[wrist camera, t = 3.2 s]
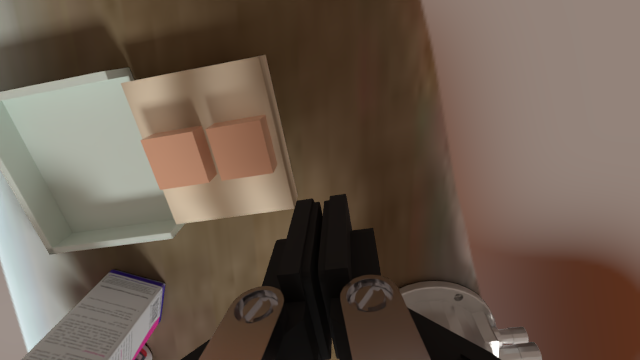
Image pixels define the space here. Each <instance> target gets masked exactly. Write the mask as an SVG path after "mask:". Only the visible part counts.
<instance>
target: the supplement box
mask: <svg viewBox="0 0 640 360" xmlns="http://www.w3.org/2000/svg"><path fill="white" fill-rule="evenodd" d="M164 290H165V283H162V282H159V281H155V280H151V279H147V278H143V277H140V276H136V275H132V274H129V273H125V272H122V271H118V270H111V271H110V272H109V273H108V274H107V275H106V276H105V277H104V278H103V279H102V280H101V281H100V282H99V283H98V284H97V285H96V286H95V287H94V288H93V289H92V290H91V291H90V292H89V293H88V294H87V295H86V296H85V297H84V298H83V299H82V300H81V301H80V302H79V303H78V304H77V305H76V306H75V307H74V308H73V309H72V310H71V311H70V312H69V313H68V314H67V315H66V316H65V317H64V318H63V319H62V320H61V321H60V322H59V323H58V324H57V325H56V326H55V327H54V328H53V329H52V330H51V331H50V332H49V333H48V334H47V335H46V336H45V337H44V338H43V339H42V340H41V341H40V342H39V343H38V344H37V345H36V346H35V347H34V348H33V349H32V350H31V351H30V352H29V353H28V354H27V355H26V356H25V357H24V358H23V359H22V360H135V358H136V357H137V355H138V354H139V352H140V351H141V349H142V348H143V346H144V345H145V343H146V342H147V340H148V339H149V337H150V335H151V334H152V332H153V331H154V329H155V328H156V326H157V325H158V324H159V322H160V320H161V314H162V306H163V299H164Z"/></svg>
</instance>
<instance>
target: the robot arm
mask: <svg viewBox="0 0 640 360" xmlns="http://www.w3.org/2000/svg"><path fill="white" fill-rule="evenodd" d="M332 340H333V344H334V349H335V353H336V357H337V359H340V360H542V356H541V353H540V350H539V348H538V346H537V345H536V344H535V343H534V342H528V335H527V332H526V330H525V329H524V327H515V328H508V329H499V330H498V329H497V328H496V324H495V319H494V317H493V315H492V313H491V311H490V309H489V308H488V306H487V304H486V303H485V301H484V300H483V299H482V298H481V297H480V296H479V295H478V294H476V293H475V292H473V291H471V290H470V289H468V288H466V287H463V286H461V285H458V284H454V283H450V282H444V281H426V282H418V283H414V284H411V285H407V286H405V287H402V288H400V289H399V288H398V287H397V285H396V284H395V283H394V282H393V281H391V280H390V279H389V278H386V277H383V276H381V273H380V267H379V261H378V255H377V249H376V243H375V237H374V231H373V228H369V229H361V230H353V231H352V227H351V221H350V215H349V209H348V203H347V197H346V194H342V195H335V196H330V200H329V201H324V209H323V215H322V210H321V206H320V202H314V200H313V199H306V200H298V201H297V202H296V205H295V209H294V213H293V217H292V220H291V224H290V228H289V232H288V235H287V239H280V240H277V241H276V243H275V246H274V249H273V252H272V256H271V259H270V262H269V265H268V268H267V272H266V275H265V278H264V281H263V284H262V286H261V287H256V288H253V289H250V290H248V291H246V292H244V293H242V294H241V295H240V296H238V297H237V298H236V299H235V300H234V301H233V303H232V304H231V305H230V307H229V309H228V310H227V312H226V314H225V316H224V317H223V319H222V321H221V322H220V324H219V326H218V327H217V329H216V331H215V333H214V334H213V336H212V338H211V339H210V340H208V341H207V342H205V343H204V344H202V345H201V346H200V347H198V348H197V349H195V350H194V351H193V352H191V353H190V354H188V355H187V356H185V357H184V358H183V359H181V360H328V359H331V345H332ZM507 343H512V344H513V345H503V346H502V344H507Z"/></svg>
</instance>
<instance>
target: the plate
mask: <svg viewBox="0 0 640 360" xmlns="http://www.w3.org/2000/svg"><path fill="white" fill-rule="evenodd" d="M121 86H122V88H123V91H124V93H125V96H126V98H127V101H128V103H129V106H130V108H131V111H132V114H133V116H134V119H135V121H136V124H137V126H138V129H139V131H140V134H141V136H142V139H144V138H146V137H148V136H150V135H152V134H154V133H160V132H166V131H172V130H178V129H183V128H189V127H195V126H201V125H202V128H203V131H204V134H205V137H206V140H207V143H208V146H209V150H210V153H211V156H212V159H213V162H214V165H215V168H216V171H217V175H216V176H215V177H214V178H213V179H212V180H211V181H210V182H209V183H204V184H197V185H190V186H184V187H177V188H170V189H163V192H164V195H165V197H166V200H167V202H168V205H169V207H170V210H171V213H172V215H173V218H174V220H175V223H176V224H183V223H190V222H198V221H205V220H213V219H220V218H227V217H235V216H242V215H250V214H257V213H265V212H272V211H280V210H287V209H294V208H295V204H296V200H297V197H298V195H297V191H296V186H295V182H294V177H293V173H292V169H291V164H290V160H289V155H288V151H287V147H286V142H285V138H284V133H283V129H282V125H281V120H280V116H279V111H278V107H277V103H276V98H275V94H274V89H273V85H272V81H271V76H270V72H269V67H268V63H267V59H266V55H262V56H257V57H252V58H246V59H241V60H236V61H231V62H226V63H221V64H216V65H210V66H205V67H200V68H195V69H190V70H185V71H180V72H174V73H169V74H164V75H159V76H154V77H149V78H144V79H138V80H134V81H129V82H124V83H121ZM259 115H266V119H267V124H268V128H269V132H270V136H271V140H272V144H273V148H274V152H275V156H276V161H277V167H276V169H275V171H274V173H271V174H264V175H257V176H251V177H244V178H237V179H231V180H224V181H222V180H221V177H220V174H219V171H218V168H217V164H216V161H215V158H214V155H213V152H212V149H211V145H210V142H209V139H208V136H207V133H206V130H205V129H207V128H208V127H209V126H211V125H212V124H214V123H218V122H224V121H230V120H236V119H242V118H248V117H253V116H259Z"/></svg>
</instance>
